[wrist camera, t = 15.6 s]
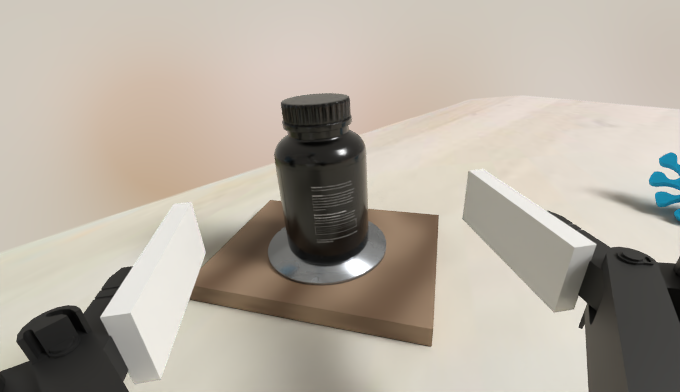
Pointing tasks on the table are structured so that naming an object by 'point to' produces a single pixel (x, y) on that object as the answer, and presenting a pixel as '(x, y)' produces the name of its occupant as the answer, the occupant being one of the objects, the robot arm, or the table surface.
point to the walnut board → (332, 276)
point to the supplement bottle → (322, 179)
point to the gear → (667, 183)
